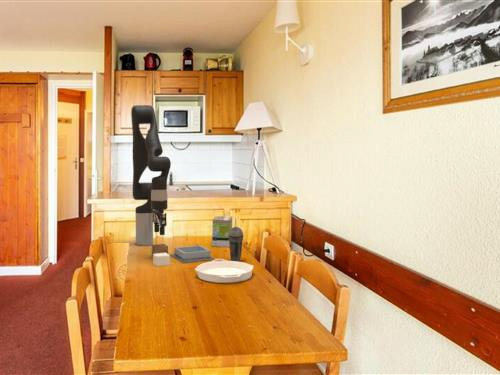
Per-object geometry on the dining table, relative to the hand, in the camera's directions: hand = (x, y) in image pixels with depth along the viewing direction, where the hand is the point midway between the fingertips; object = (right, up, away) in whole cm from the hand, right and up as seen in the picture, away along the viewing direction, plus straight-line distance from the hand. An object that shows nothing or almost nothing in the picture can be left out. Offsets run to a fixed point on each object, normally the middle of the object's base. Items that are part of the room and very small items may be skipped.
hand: (159, 233), depth 208 cm
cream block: (+3, -13, -11) cm, 17 cm away
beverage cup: (+36, -12, -2) cm, 38 cm away
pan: (+32, -15, -27) cm, 45 cm away
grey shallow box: (+15, -12, +3) cm, 19 cm away
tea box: (+27, -10, +34) cm, 45 cm away
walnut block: (0, -12, +1) cm, 12 cm away
